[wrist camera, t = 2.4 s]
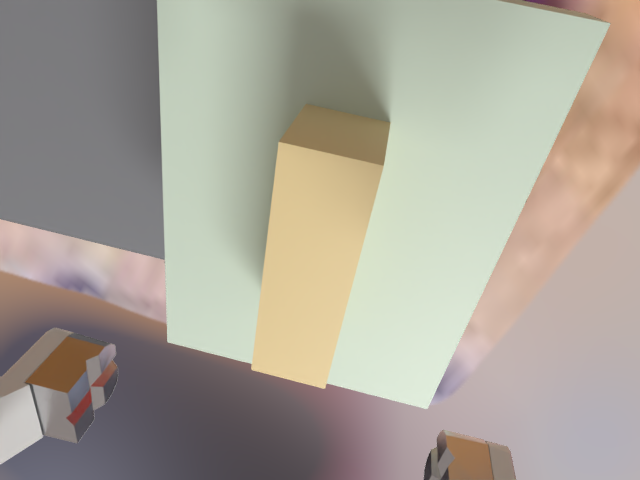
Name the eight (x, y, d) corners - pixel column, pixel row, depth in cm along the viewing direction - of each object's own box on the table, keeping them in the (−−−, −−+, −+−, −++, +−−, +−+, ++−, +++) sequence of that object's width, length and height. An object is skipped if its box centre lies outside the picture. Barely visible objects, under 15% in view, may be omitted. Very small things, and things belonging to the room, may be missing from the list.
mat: (-158, -190, 20) (-165, -192, 20) (174, -125, 19) (170, -126, 19) (-35, 207, 31) (-39, 209, 31) (178, 259, 30) (176, 262, 30)
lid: (187, -68, 15) (78, -74, 10) (585, 13, 14) (670, 47, 9) (186, 312, 24) (130, 401, 19) (426, 373, 23) (428, 481, 19)
